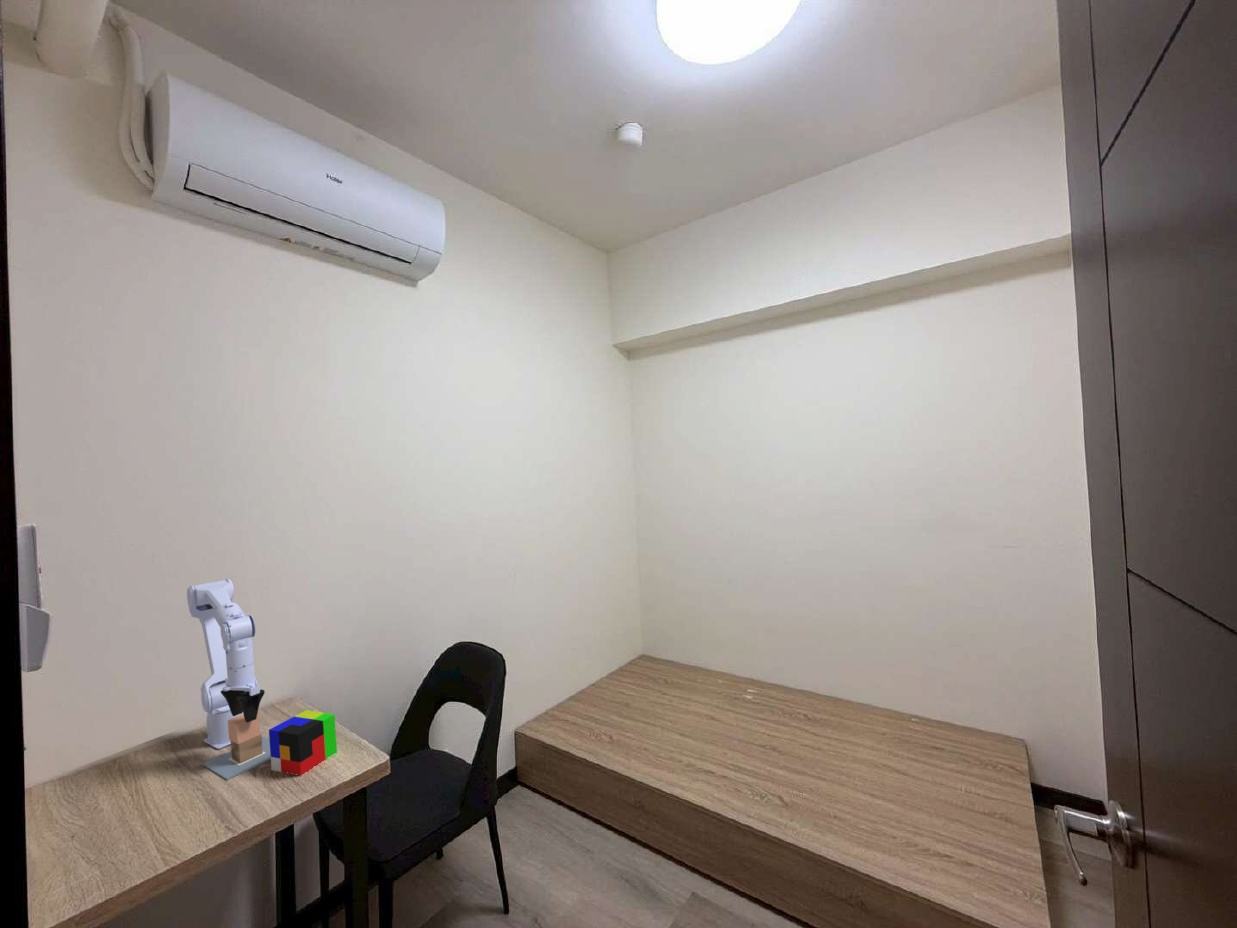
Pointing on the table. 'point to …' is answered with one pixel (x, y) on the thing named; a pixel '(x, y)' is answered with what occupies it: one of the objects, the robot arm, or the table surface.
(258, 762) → the plate
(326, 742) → the puzzle toy
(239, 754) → the walnut block
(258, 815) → the table surface
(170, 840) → the table surface
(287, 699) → the table surface
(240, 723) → the terracotta block
